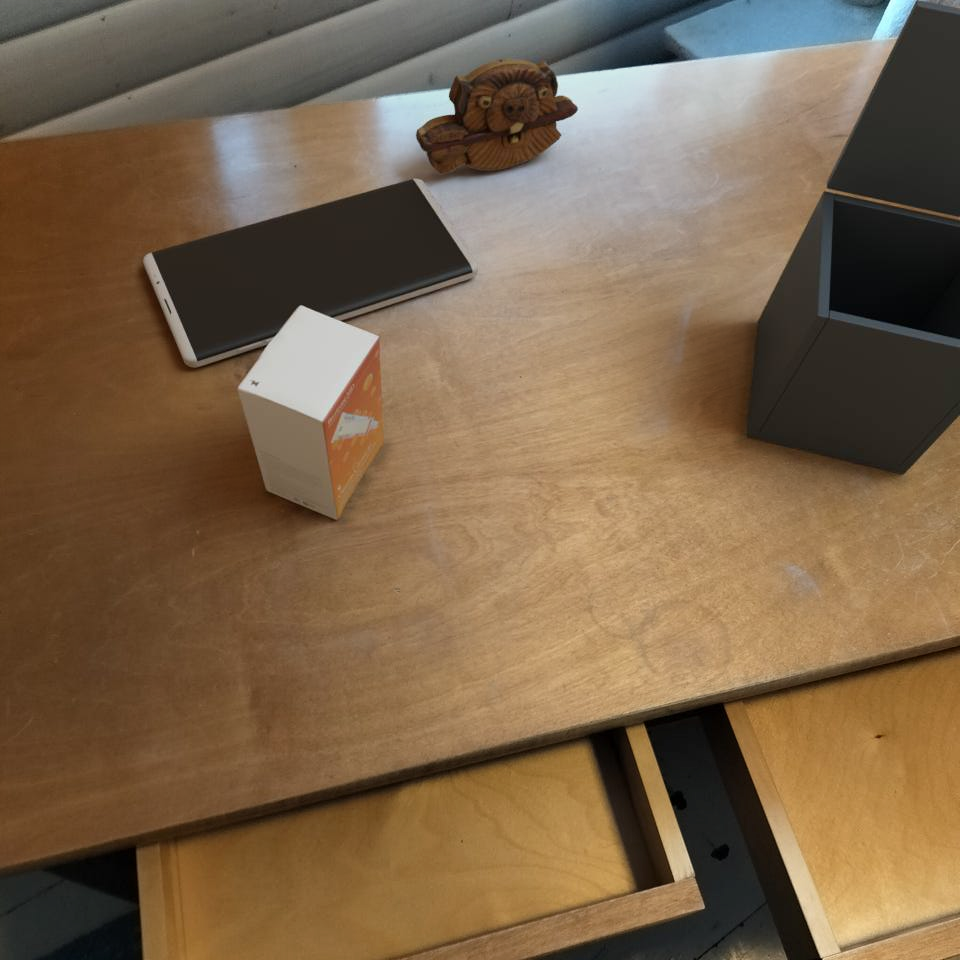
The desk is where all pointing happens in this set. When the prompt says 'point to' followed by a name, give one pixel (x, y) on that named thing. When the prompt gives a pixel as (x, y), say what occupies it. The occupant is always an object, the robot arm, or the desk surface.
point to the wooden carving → (497, 117)
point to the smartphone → (306, 268)
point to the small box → (315, 410)
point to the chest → (862, 336)
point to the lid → (911, 120)
